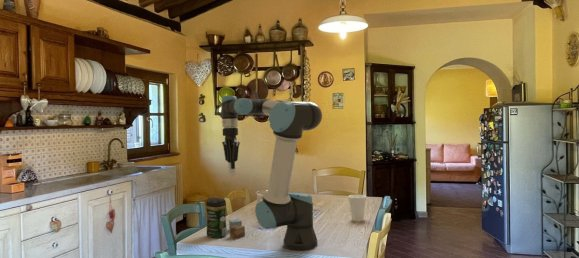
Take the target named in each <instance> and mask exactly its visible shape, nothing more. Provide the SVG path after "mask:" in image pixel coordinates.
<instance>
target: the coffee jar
mask: <svg viewBox="0 0 579 258" xmlns="http://www.w3.org/2000/svg"><path fill="white" fill-rule="evenodd" d="M205 202H206V203H205V208H206V209H205V210H206V236H207V237H209V238H214V239H219V238H224V237H226V236H227V235H228V229H227V219H226V218H227V217H226V209H227V201H226V199H225V198H221V197H220V198H218V197H211V198H207V199H206V201H205Z"/></svg>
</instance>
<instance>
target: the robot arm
mask: <svg viewBox="0 0 579 258" xmlns="http://www.w3.org/2000/svg"><path fill="white" fill-rule="evenodd" d="M220 105H221V118H222V119H221V120H222V121H221V123H222V136H224V141H222V142H221V144H222V148H223V152H224V153H223V154H224V158H225V162H227V163H228V167H227V168H228V176H229V177H230V176H231V177H232V176H236V162H237V161H238V159H239V147H240V144H241V142H240V141H237V136H238V135H239V128H238V127H239V123H238V122H239V121H238V116H239V115H240V116H243V115H250V116H251V115H262V116H268V122H269V126H270V128H271V130H272V133H273V135H274V136H275V142H274V143H275V144H274V150H273V155H272V161H271V167H270V174H269V179H268V180H269V181H268V188H267V191H265V192H264V193H263V196H262V201H261V200H259V202H257V203H256V205H255V207H254V208H255V209H254V210H255V217H256V219H257V222H258V224H259V225H260V226H261V227H262V228H263V229H265V230H271V229H276V228H281V227H283V226H286V229H285V230H286V231H285V234H284V238H283V242H282V244H283V247H284V248H285V249H288V250H292V251H306V250H312V249H315V248H316V247H318V238H317V235H316V233H315V228H314V207H313V206H314V203H313V202H314V201H313V196H312V195H311V194H308V193H304V192H294V191H292V192H290V185H291V181H292V180H291V179H292V172H293V168H294V163H295V162H294V161H295V155H296V150H297V143H298V141H299V140H301V139H302V138H303V133H304V131H311V130H314V129H316V128H317V127H318V126H319V125H320V124H321V122H322V118H323V113H322V110H321V108H320V107H319V106H318V105H317V104H316V103H314V102H311V101H288V100H287V101H286V100H285V101H277V100H273V99H269V98H258V99H257V98H246V97H241V98H238V97H237V96H235V95H225V96H224V95H223V96H222V97H221V104H220Z"/></svg>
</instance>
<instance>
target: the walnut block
mask: <svg viewBox="0 0 579 258" xmlns="http://www.w3.org/2000/svg"><path fill="white" fill-rule="evenodd" d="M229 237H230V238H231V239H236V240H239V239H241V238H242V239H243V238H244V237H246V229H245V225H242V226H241V225H235V226H232V227H230V230H229Z"/></svg>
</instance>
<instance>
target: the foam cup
mask: <svg viewBox="0 0 579 258" xmlns="http://www.w3.org/2000/svg"><path fill="white" fill-rule="evenodd" d="M348 201H349V203H348V204H349V210H350V216H351V220H352V221H353V222H363V221H364V219H365V211H366V202H367V196H366V194H365V195H363V194H349V195H348Z"/></svg>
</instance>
